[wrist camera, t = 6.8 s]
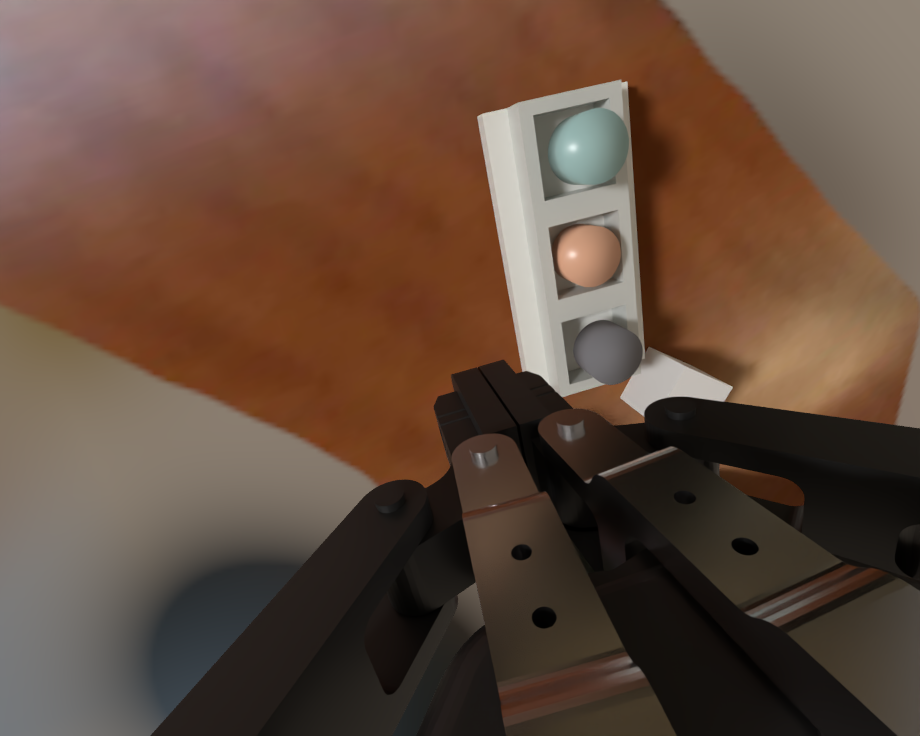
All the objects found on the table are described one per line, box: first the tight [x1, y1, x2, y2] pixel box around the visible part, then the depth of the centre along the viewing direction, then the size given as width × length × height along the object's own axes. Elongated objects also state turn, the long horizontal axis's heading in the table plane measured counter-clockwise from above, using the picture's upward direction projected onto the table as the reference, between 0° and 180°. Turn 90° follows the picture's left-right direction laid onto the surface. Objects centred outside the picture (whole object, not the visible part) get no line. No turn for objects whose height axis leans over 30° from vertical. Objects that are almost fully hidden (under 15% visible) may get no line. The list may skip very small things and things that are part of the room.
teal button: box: [548, 108, 629, 185], centre depth 34 cm, size 5×5×3 cm
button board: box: [477, 80, 645, 397], centre depth 41 cm, size 24×12×4 cm, turn 12°
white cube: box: [620, 347, 733, 416], centre depth 47 cm, size 6×6×6 cm
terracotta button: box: [551, 224, 621, 287], centre depth 39 cm, size 5×5×3 cm
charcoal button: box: [573, 320, 643, 385], centre depth 40 cm, size 5×5×3 cm
